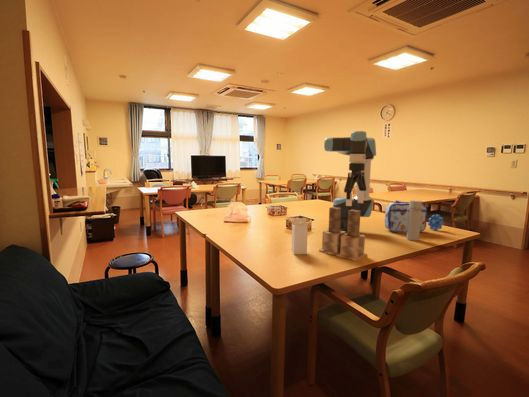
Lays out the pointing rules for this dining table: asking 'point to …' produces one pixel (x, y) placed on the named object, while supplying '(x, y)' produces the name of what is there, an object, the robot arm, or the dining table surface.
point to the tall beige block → (414, 220)
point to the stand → (343, 245)
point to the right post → (353, 223)
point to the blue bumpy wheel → (435, 222)
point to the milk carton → (299, 236)
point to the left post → (334, 219)
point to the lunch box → (401, 216)
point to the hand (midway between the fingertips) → (354, 204)
